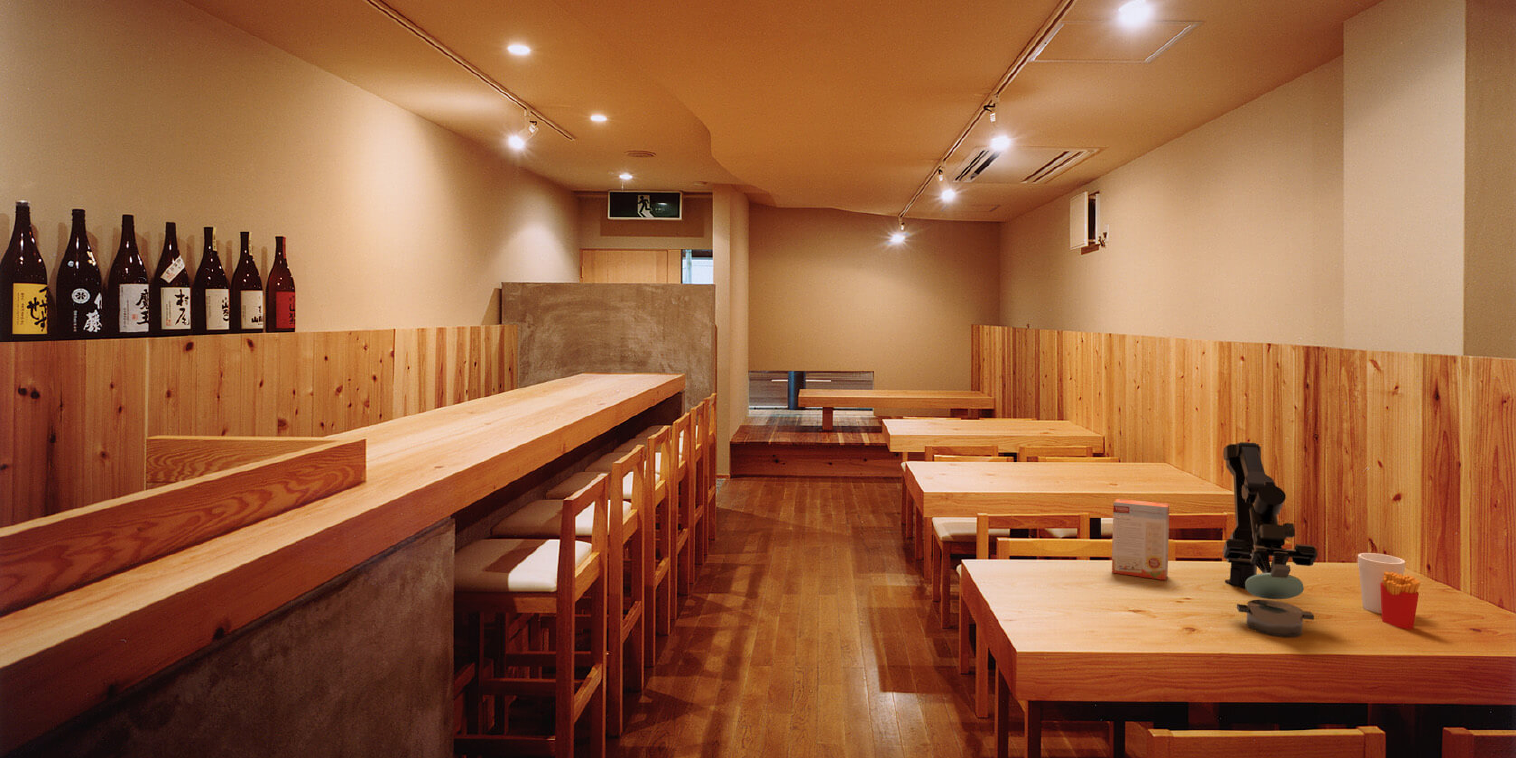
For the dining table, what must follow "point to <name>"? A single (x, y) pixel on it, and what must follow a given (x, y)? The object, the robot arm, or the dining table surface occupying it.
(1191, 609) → the dining table surface
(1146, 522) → the cracker box
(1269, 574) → the lid
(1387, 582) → the french fries
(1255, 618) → the cooker pot
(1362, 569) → the foam cup
